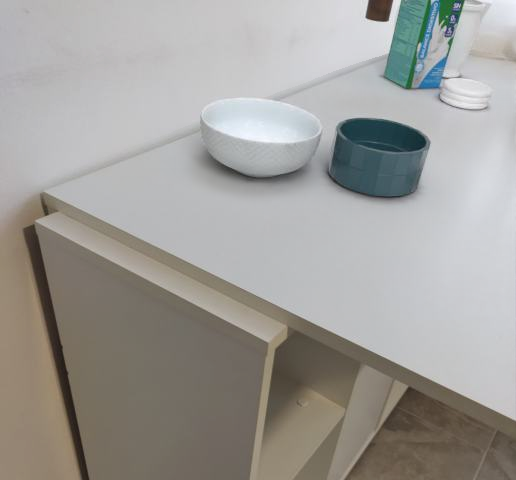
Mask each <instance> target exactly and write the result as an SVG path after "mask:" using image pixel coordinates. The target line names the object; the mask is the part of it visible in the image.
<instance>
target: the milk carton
mask: <svg viewBox="0 0 516 480" xmlns="http://www.w3.org/2000/svg"><path fill="white" fill-rule="evenodd" d="M464 2H465V0H400V4H399V7H398V8H399V9H398V13H397V17H396V21H395V26H394V29H393V34H392V39H391V42H390V47H389V52H388V56H387V61H386V65H385V68H384V74H383V77H384V78H386V79H388V80H389V81H391V82H394V83H395V84H397V85H399V86H400V87H402V88H404V89H406V90H408V89H409V90H410V89H411V90H412V89H413V90H414V89H433V88H435V89H436V88H440V85H441V81H442V78H443V77H442V75H443V72H444V69H445V65H446V62H447V59H448V55H449V52H450V49H451V45H452V42H453V39H454V35H455V32H456V29H457V25H458V22H459V19H460V15H461V12H462V8H463V5H464Z"/></svg>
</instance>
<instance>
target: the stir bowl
mask: <svg viewBox="0 0 516 480" xmlns="http://www.w3.org/2000/svg"><path fill="white" fill-rule="evenodd" d="M333 134H334V135H333V139H332V144H331V145H332V146H331V152H330V156H329V162H328V174H329V176H331V178H332V179H333V180H334V181H335V182H337V183H338V184H339V185H341V186H343V187H344V188H348V189H349V190H352V191H355V192H357V193H359V194H364V195H368V196H374V197H401V196H405V195H408V194H411V193H412V192H414V191H415V190H416V189H418V186H419V184H420V181H421V180H420V179H421V176H422V173H423V170H424V167H425V164H426V160H427V157H428V154H429V150H430V146H431V144H432V141H431V140H430V138H429V136H427V135H426V134H425V133H423V132H422V131H420V130H419V129H417V128H414V127H412V126H410V125H408V124H404V123H401V122H398V121H395V120H390V119H389V120H388V119H383V118H377V117H376V118H375V117H354V118H348V119H343V121H340V122H338V124H337V125H336V126H335V129H334V133H333Z"/></svg>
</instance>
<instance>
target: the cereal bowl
mask: <svg viewBox="0 0 516 480" xmlns="http://www.w3.org/2000/svg"><path fill="white" fill-rule="evenodd" d="M199 118H200V119H199V122H200V127H199V128H200V135H201V139H202V142H203V144H204V146H205V148H206V150H207V151H208V153H209V154H210V155H211V156H212V157H213V158H214V159H215V160H216V161H218V162H219V163H220V164H222V165H224V166H226V167H228V168H230V169H233V170H234V172H237V173H239V174H241V175H244V176H248V177H251V178H252V177H253V178H261V179H262V178H263V179H264V178H265V179H266V178H273V177H277V176H279V175H284V174H288V173H289V174H290V173H292V172H295V171H297V170H299V169H301V168H302V167H304V166H305V165H307V164H308V163H309V162H310V161H311V160H312V159H313V157H314V156H315V154H316V152H317V150H318V148H319V145H320V142H321V139H322V134H323V124H322V123H321V121H320V120H319V119H318V118H317V116H315V115H314V114H313V113H311V112H309V111H308V110H305V109H303V108H302V107H299V106H296V105H293V104H290V103H287V102H283V101H279V100H274V99H269V98H261V97H230V98H224V99H218V100H215V101H213V102H210V103H209V104H207V105H205V106H204V107H203V108H202V110H201V111H200V115H199Z"/></svg>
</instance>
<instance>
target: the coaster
mask: <svg viewBox="0 0 516 480" xmlns="http://www.w3.org/2000/svg"><path fill="white" fill-rule="evenodd" d="M492 94H493V89H492V87H491V86H490V85H488V84H487V83H484V82H481V81H478V80H475V79H470V78H463V77H455V78H447V79H445V80H444V81H443V83H442V88H441V92H440V94H439V98H440V100H441V101H442V102H443V103H445V104H447V105H449V106H451V107H452V106H453V107H456V108H460V109H465V110H483V109H485V108H487V107H488V105H489V101H490V100H491V96H492Z"/></svg>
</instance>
